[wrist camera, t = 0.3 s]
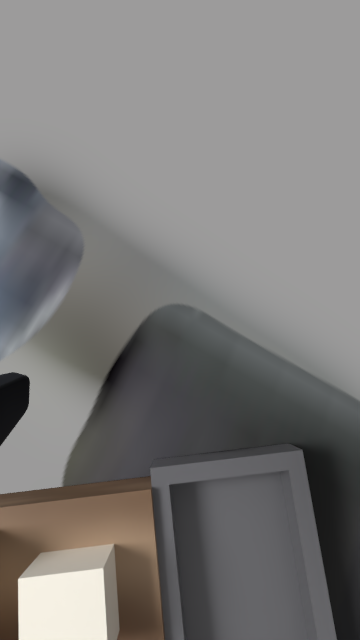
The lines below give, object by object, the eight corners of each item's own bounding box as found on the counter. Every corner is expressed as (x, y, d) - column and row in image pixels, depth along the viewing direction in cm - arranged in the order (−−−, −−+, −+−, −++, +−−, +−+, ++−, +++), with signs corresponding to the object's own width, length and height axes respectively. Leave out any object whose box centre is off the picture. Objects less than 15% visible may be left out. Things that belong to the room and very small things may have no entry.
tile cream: (119, 629, 17) (109, 669, 15) (42, 639, 17) (19, 681, 15) (114, 543, 18) (103, 568, 15) (40, 552, 18) (18, 578, 15)
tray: (340, 743, 18) (365, 797, 16) (181, 764, 18) (181, 822, 16) (289, 443, 22) (302, 450, 19) (153, 459, 22) (149, 468, 19)
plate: (179, 741, 18) (178, 808, 16) (-80, 776, 18) (-130, 850, 15) (155, 475, 21) (150, 489, 18) (-69, 502, 21) (-110, 520, 18)
